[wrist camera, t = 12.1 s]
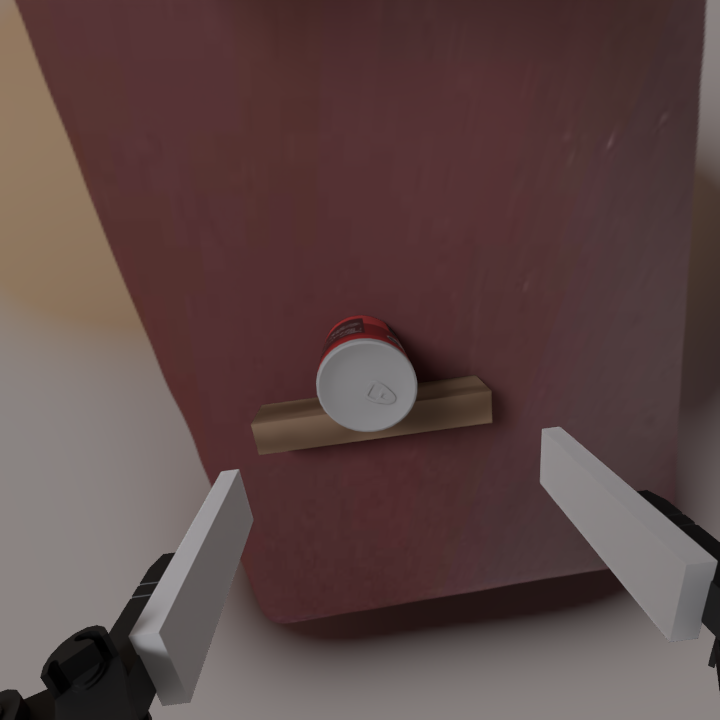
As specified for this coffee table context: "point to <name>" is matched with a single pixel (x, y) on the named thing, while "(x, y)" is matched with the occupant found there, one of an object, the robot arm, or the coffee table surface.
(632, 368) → the coffee table surface
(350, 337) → the canned food
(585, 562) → the coffee table surface
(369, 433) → the board
